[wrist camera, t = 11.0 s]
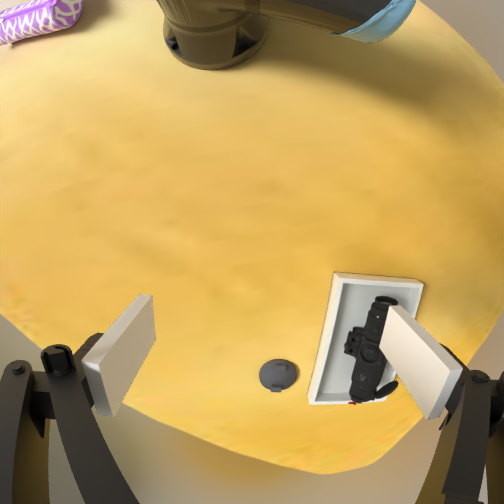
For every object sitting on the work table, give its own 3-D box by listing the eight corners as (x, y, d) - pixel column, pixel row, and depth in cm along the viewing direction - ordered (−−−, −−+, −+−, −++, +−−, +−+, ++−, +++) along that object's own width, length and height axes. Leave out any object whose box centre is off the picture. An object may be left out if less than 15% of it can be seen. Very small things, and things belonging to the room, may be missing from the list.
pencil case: (3, 52, 32) (-23, 41, 23) (19, 17, 31) (-5, 3, 21) (76, 34, 33) (49, 14, 24) (94, -4, 31) (72, -28, 22)
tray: (333, 271, 42) (339, 277, 39) (414, 278, 43) (423, 284, 40) (306, 393, 47) (309, 404, 44) (379, 391, 47) (385, 400, 44)
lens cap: (261, 356, 46) (261, 363, 44) (298, 358, 46) (300, 365, 44) (257, 385, 47) (257, 392, 45) (292, 387, 47) (293, 394, 45)
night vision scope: (367, 285, 45) (425, 299, 38) (347, 376, 49) (396, 393, 43) (349, 298, 39) (418, 317, 32) (327, 398, 43) (382, 419, 37)
